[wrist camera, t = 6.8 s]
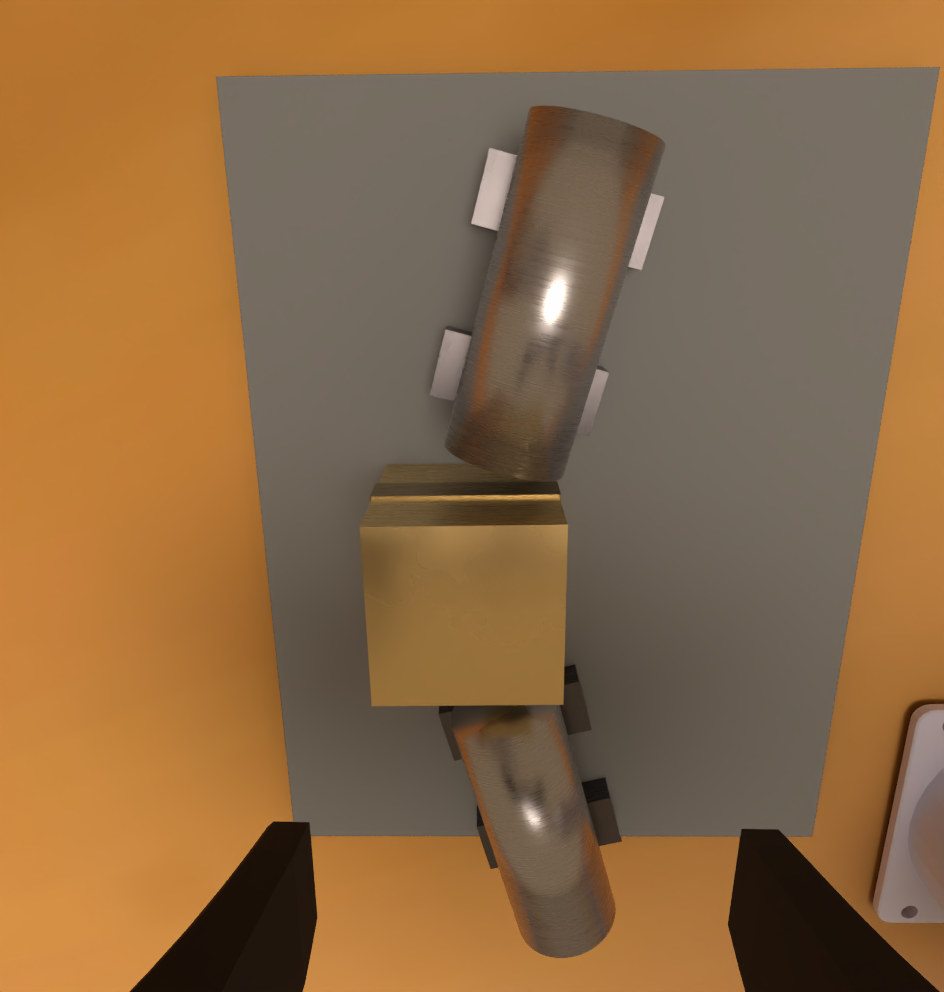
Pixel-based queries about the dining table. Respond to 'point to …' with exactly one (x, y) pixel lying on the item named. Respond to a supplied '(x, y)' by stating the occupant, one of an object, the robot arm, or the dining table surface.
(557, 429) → the shaft
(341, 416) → the mat
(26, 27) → the dining table surface
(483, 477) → the tan rectangular block
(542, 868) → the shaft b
